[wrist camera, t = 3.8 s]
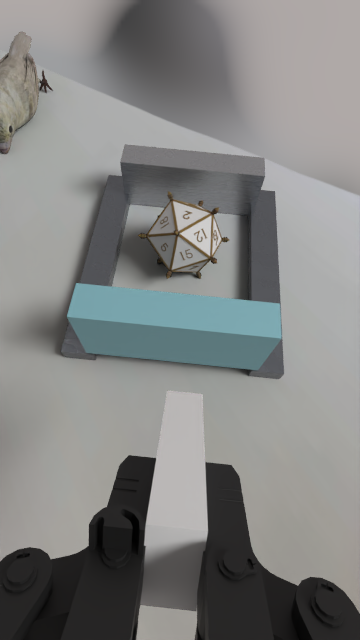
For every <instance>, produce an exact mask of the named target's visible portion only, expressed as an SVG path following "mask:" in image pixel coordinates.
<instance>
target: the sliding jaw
mask: <svg viewBox="0 0 360 640" xmlns="http://www.w3.org/2000/svg"><path fill="white" fill-rule="evenodd" d="M67 318H68V320H69V322H70V324H71V325H72V327H73V329H74V331H75V333H76V334H77V336H78V338H79V340H80V342H81V344H82V345H83V347H84V349H85V351H86V353H93V354H103V355H113V356H122V357H132V358H142V359H152V360H162V361H172V362H181V363H191V364H201V365H211V366H221V367H231V368H240V369H250V370H259V368H260V367H261V366H262V364H263V363H264V362H265V360H266V359H267V358H268V356H269V355H270V353H271V352H272V351H273V349H274V348H275V347H276V345H277V344H278V343H279V341H280V340H281V339H282V336H281V315H280V304H279V303H269V302H260V301H250V300H240V299H230V298H220V297H210V296H200V295H190V294H180V293H170V292H160V291H150V290H140V289H130V288H120V287H110V286H100V285H90V284H80V283H76V286H75V289H74V293H73V296H72V300H71V303H70V307H69V311H68V314H67Z"/></svg>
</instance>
